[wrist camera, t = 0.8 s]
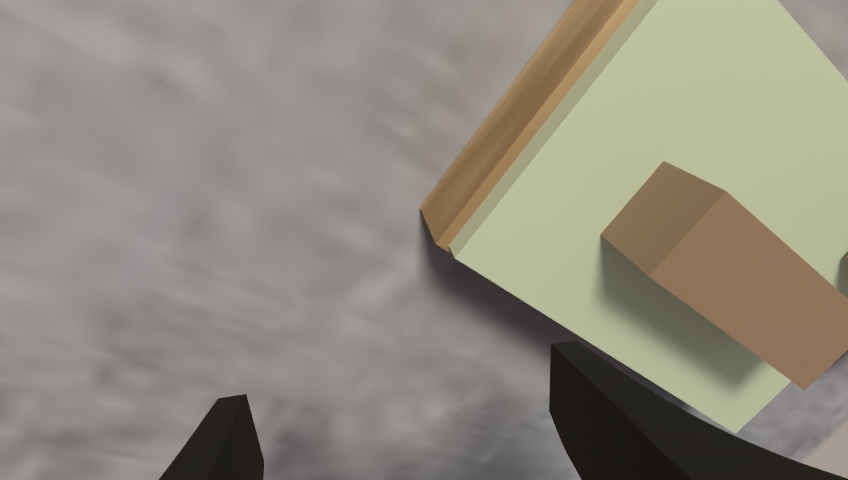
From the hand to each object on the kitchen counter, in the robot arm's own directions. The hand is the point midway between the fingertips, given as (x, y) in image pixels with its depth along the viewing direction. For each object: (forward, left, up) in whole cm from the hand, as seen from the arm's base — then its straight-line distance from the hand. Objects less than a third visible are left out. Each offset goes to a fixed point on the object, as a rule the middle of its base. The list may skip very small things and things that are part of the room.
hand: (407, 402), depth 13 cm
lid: (-9, -8, -6) cm, 13 cm away
